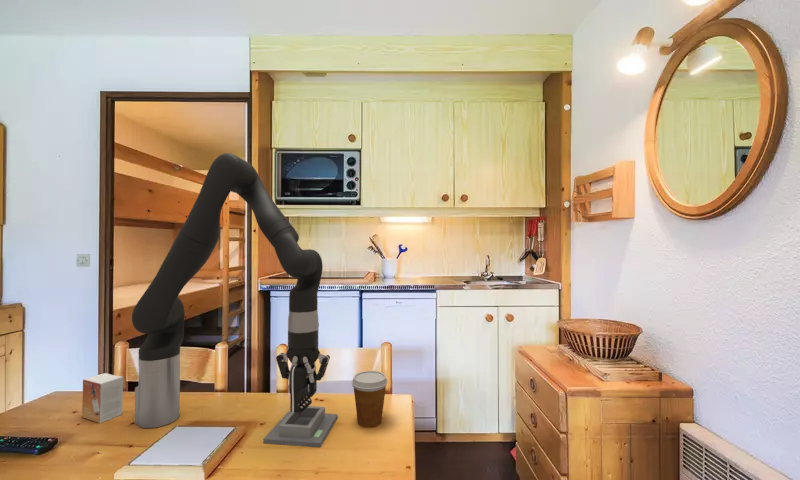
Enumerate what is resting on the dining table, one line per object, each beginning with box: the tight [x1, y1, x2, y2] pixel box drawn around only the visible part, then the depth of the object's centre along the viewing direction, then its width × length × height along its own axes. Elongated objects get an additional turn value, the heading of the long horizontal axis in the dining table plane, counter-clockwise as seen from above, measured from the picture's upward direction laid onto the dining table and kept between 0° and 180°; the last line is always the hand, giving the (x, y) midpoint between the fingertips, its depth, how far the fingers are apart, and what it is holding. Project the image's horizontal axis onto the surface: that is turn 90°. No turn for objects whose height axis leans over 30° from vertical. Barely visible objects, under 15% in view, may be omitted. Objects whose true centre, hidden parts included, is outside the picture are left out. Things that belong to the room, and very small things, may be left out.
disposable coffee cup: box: [351, 370, 388, 429], centre depth 95 cm, size 10×10×12 cm
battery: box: [289, 364, 313, 413], centre depth 91 cm, size 7×4×11 cm, turn 168°
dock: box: [262, 405, 339, 448], centre depth 91 cm, size 14×14×4 cm
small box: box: [81, 372, 124, 424], centre depth 98 cm, size 8×6×10 cm
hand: (303, 394), depth 91 cm, fingers closed on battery, 4 cm apart
